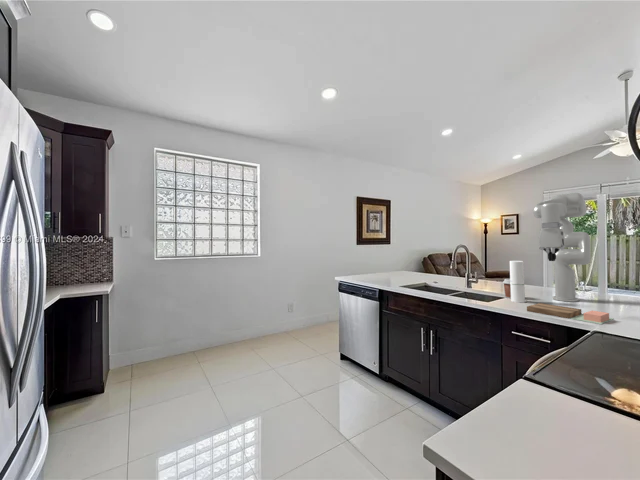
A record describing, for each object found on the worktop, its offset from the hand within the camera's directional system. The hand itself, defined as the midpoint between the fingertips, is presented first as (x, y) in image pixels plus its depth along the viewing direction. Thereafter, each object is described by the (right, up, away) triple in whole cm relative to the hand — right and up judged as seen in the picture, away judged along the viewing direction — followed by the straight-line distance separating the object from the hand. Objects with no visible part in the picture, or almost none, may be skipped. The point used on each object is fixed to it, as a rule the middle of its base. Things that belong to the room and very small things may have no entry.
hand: (552, 260), depth 149 cm
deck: (-1, -27, -2) cm, 27 cm away
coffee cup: (+3, -27, +36) cm, 45 cm away
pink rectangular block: (+6, -25, -17) cm, 31 cm away
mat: (+6, -27, -15) cm, 31 cm away
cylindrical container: (0, -27, +25) cm, 37 cm away
